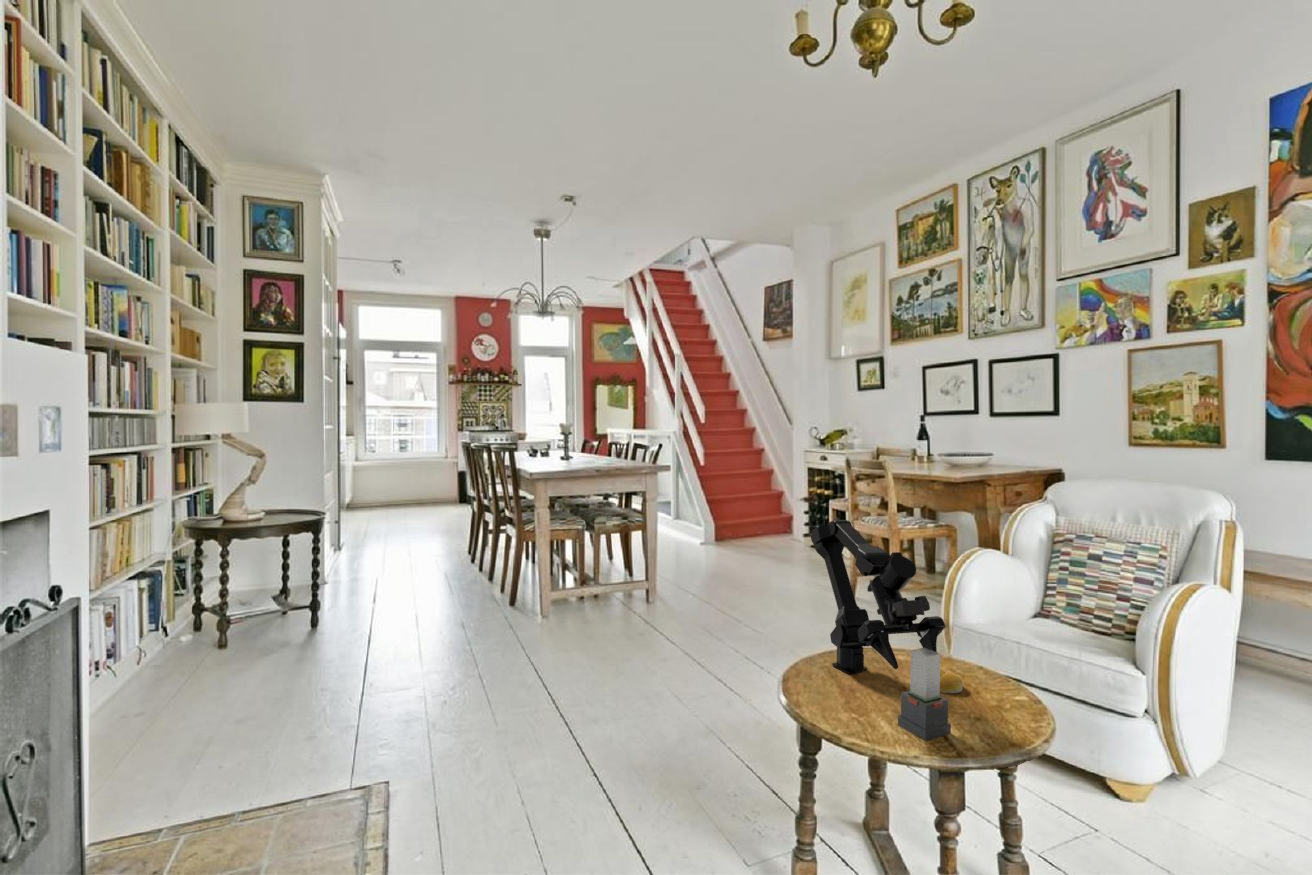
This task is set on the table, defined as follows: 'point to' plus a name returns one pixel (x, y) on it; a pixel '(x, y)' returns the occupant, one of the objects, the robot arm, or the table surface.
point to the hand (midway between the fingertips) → (916, 666)
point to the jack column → (925, 675)
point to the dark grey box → (924, 717)
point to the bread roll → (950, 683)
